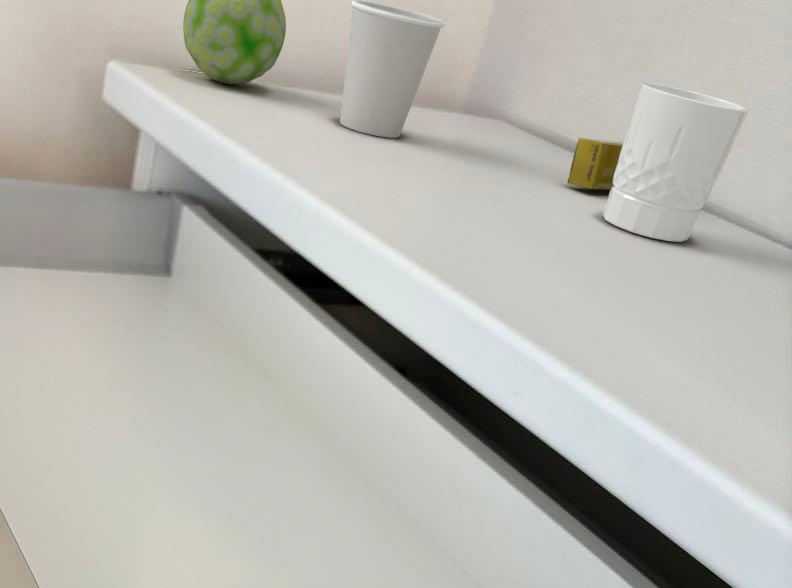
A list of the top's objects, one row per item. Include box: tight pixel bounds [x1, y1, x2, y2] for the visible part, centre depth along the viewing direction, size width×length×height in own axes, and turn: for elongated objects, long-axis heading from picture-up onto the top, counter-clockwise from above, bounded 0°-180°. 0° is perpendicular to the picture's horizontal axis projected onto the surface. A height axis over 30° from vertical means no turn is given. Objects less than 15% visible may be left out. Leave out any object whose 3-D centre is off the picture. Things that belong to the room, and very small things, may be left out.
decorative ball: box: [182, 0, 287, 85], centre depth 104 cm, size 10×10×10 cm
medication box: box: [567, 137, 624, 191], centre depth 97 cm, size 12×3×4 cm, turn 130°
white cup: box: [602, 82, 749, 243], centre depth 84 cm, size 8×8×10 cm
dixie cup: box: [339, 0, 445, 139], centre depth 98 cm, size 8×8×10 cm
